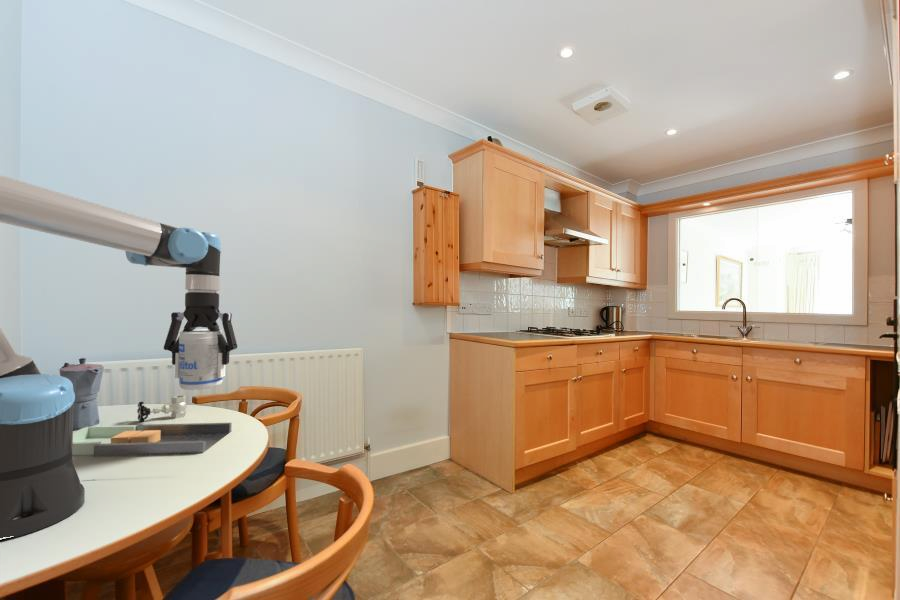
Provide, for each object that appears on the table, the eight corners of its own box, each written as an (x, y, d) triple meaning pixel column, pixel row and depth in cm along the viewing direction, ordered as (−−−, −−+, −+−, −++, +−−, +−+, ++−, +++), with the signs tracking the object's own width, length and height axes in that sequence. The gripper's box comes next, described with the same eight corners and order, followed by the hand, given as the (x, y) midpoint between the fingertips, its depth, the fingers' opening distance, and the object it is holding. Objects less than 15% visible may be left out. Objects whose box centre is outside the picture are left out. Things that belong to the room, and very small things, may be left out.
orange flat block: (147, 446, 96) (148, 436, 96) (130, 447, 95) (130, 437, 95) (160, 439, 100) (160, 430, 100) (143, 440, 100) (144, 430, 100)
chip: (128, 447, 95) (128, 437, 95) (110, 447, 94) (110, 437, 94) (141, 440, 100) (142, 430, 100) (125, 440, 99) (125, 431, 99)
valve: (183, 413, 125) (136, 421, 116) (184, 393, 125) (137, 399, 116) (188, 418, 120) (140, 426, 112) (189, 397, 120) (140, 404, 112)
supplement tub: (170, 391, 96) (168, 332, 95) (197, 381, 105) (196, 328, 105) (207, 391, 95) (205, 333, 94) (231, 382, 104) (230, 328, 104)
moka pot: (79, 434, 104) (80, 361, 105) (36, 429, 108) (38, 359, 108) (116, 423, 114) (117, 356, 114) (75, 419, 117) (77, 354, 117)
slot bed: (202, 454, 92) (202, 443, 92) (92, 458, 89) (92, 446, 89) (231, 432, 108) (232, 422, 108) (139, 434, 105) (139, 424, 105)
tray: (97, 455, 90) (97, 443, 90) (40, 457, 89) (41, 444, 89) (136, 436, 104) (136, 425, 104) (87, 437, 102) (87, 426, 102)
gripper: (252, 293, 105) (250, 374, 105) (165, 291, 102) (163, 374, 102) (241, 292, 97) (239, 379, 97) (147, 290, 95) (144, 380, 94)
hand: (200, 377), depth 100 cm, fingers closed on supplement tub, 9 cm apart
